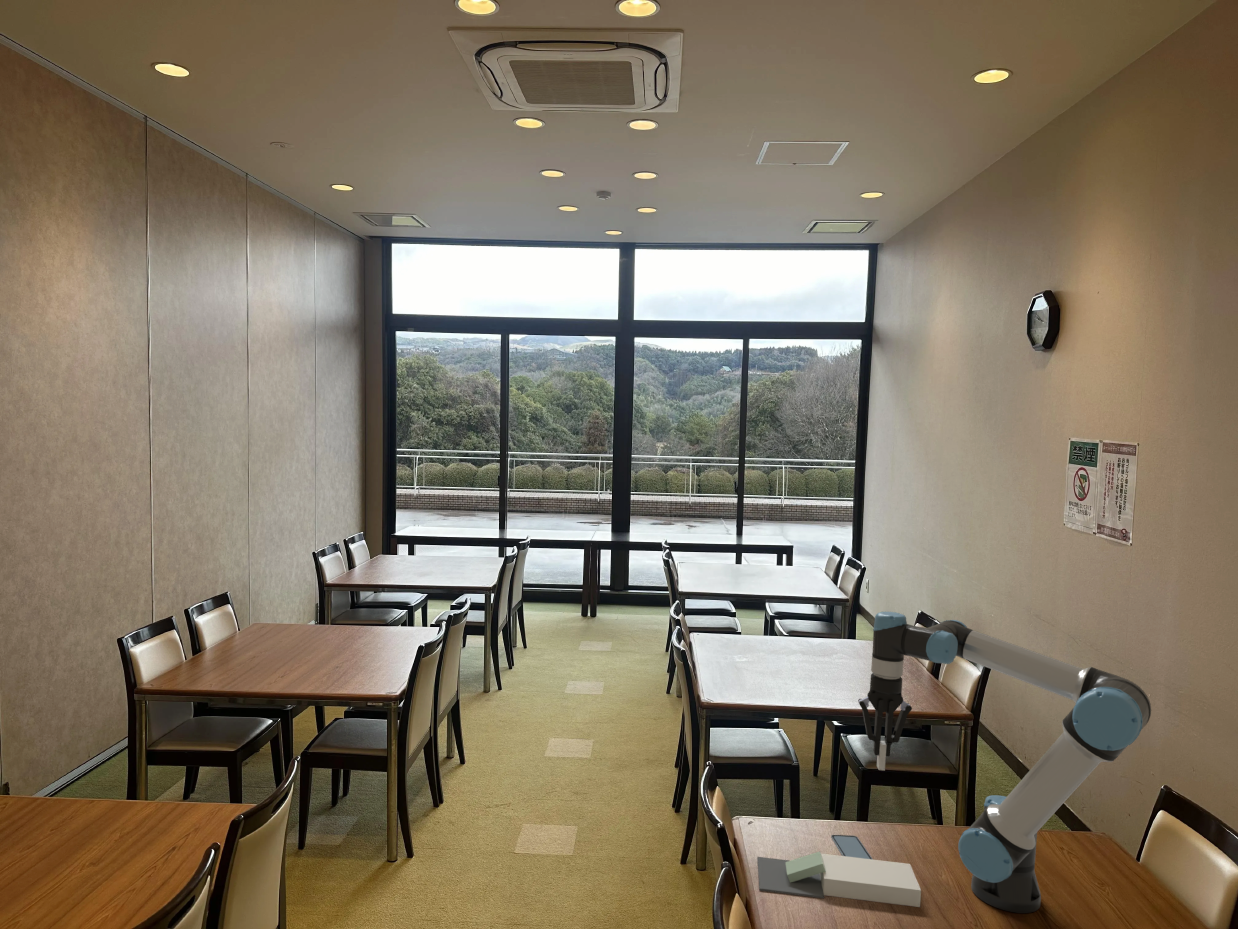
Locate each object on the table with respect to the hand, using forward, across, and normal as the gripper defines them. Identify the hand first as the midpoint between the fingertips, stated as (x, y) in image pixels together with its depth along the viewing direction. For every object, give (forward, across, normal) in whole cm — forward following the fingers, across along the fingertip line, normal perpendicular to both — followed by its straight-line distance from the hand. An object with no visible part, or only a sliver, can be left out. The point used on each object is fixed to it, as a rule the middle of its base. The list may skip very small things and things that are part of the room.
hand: (880, 768), depth 204 cm
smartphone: (+27, +4, -10) cm, 29 cm away
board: (+26, +3, +8) cm, 28 cm away
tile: (+24, +18, +8) cm, 31 cm away
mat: (+26, +22, +8) cm, 35 cm away
